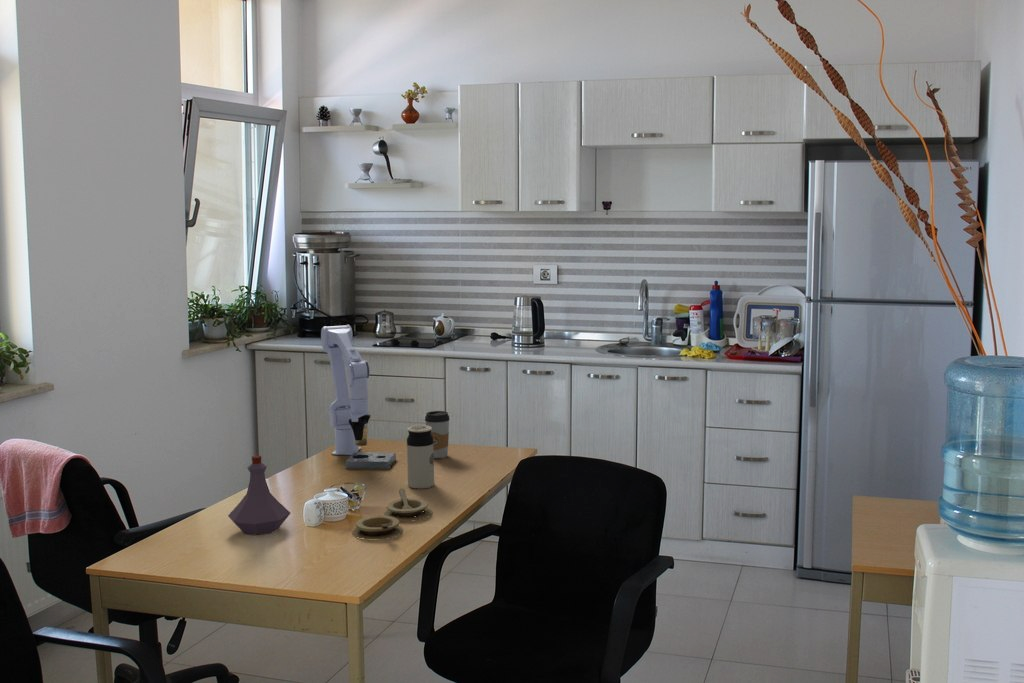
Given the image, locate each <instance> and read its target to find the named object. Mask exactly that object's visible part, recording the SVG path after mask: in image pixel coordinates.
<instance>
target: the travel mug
mask: <svg viewBox="0 0 1024 683" xmlns="http://www.w3.org/2000/svg"><path fill="white" fill-rule="evenodd" d="M431 430H432V427H430V426H426V424H423V425H411V426H409V427H407V432H408V435H407V437H406V452H407V453H406V457H407V461H406V462H407V486H408V487H410V488H411V489H416V488H417V490H423V488H425V489H430V488H431V486H432V487H433V486H434V485H435V467H434V466H435V462H434V460H435V459H434V451H433V437H432V435H431Z"/></svg>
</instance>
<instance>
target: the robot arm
mask: <svg viewBox="0 0 1024 683" xmlns="http://www.w3.org/2000/svg"><path fill="white" fill-rule="evenodd" d="M320 339H321V346H322V347H321V348H322V349H323V352H324V353H327V356H328V359H329V363H330V371H331V372H330V373H331V377H332V384H333V385H332V386H333V391H334V399H335V400H334V401H332V402H331V403H330V405H329V407H328V421H329V422H328V423H329V425H330V426H331V428H334V449H335V450H334V451H332V453H331V455H336V456H337V455H338V456H339V455H340V456H341V455H342V456H344V455H347V456H348V455H349V456H351V455H352V454H353V453H354V452H360V450H361V449H362V446H357V445H355V440H356V441H362V439H363V430H364V425H365V423H368V424H369V422H370V418H371V414H369V413H370V411H369V396H368V395H369V394H368V390H369V389H368V379H369V378H370V366H369V361H368V360H365V359H363V358H362V357H361V354H360V353H359V350H358V349H357V348H355V347H353V343H352V341H353V329H352V326H351V325H350V324H346V325H333V326H332V325H331V326H327V325H326V326H323V327H322V328H321V330H320Z"/></svg>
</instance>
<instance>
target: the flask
mask: <svg viewBox="0 0 1024 683" xmlns="http://www.w3.org/2000/svg"><path fill="white" fill-rule="evenodd" d="M251 462H252V463H251V464H249V465H248V466H247V467H246V468H247V470H248V472H249V474H250V476H249V482H248V487H247V492H246V494H245V495H244V496H243V497H242V499H241V500H240V502H238V504H237V505H236V506H235V507H234V508H233V510H232V511H230V513H229V514H228V515H227V517H228V518H229V519H230V520H231V521H232V523H234V524H235V526H236V527H237V528H239V529H240V531H242V533H244V535H247V536H256V537H257V536H264V535H269V534H272V533H275V532H276V531H278V529H279V528H280V527H281V526H283V524H284V522H285V521H286V520H287V519H288V517H289V516H290V515H291V512H290V510H288V508H286V507H285V506H284V505H283V504H282V503H280V502H279V500H278V499H276V497H274V495H273V494H272V493H271V492H270V489H269V486H268V482H267V480H266V476H265V474H266V473H265V472H266V470H267V466H266V464H264V463H263V462H262V456H261V455H253V456H251Z"/></svg>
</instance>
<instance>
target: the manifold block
mask: <svg viewBox="0 0 1024 683" xmlns="http://www.w3.org/2000/svg"><path fill="white" fill-rule="evenodd" d="M396 454H397V453H396V452H386V451H385V452H382V451H381V452H380V451H379V452H378V451H377V452H376V451H375V452H374V451H372V452H371V451H369V452H368V451H358V452H354V453H353V454H352V455H349V457H348V458H347V459H346V460H345V461H344V463H345V466H344V467H345V469H346V470H347V469H349V470H350V469H352V470H355V469H356V470H389V469H390V467H391V466H393V464H394V463H393V462H395V461H396V460H397V458H396V457H397V456H396Z"/></svg>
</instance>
